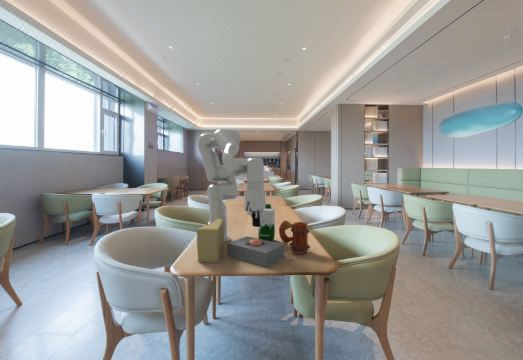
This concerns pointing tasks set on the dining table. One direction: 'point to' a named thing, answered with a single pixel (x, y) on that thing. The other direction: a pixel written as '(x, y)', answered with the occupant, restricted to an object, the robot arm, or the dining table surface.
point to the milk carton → (267, 224)
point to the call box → (256, 251)
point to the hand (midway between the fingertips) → (256, 226)
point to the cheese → (210, 241)
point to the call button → (255, 242)
